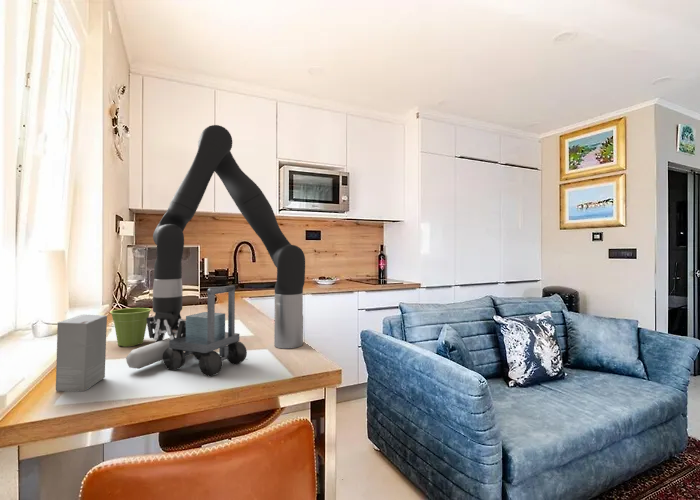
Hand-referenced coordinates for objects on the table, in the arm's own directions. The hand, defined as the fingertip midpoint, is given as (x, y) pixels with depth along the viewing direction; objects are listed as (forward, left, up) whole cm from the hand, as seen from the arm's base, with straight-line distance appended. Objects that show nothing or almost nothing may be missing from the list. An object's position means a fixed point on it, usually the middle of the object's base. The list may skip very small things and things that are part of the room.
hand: (167, 354), depth 103 cm
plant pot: (-9, -25, -2) cm, 27 cm away
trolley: (0, +14, -2) cm, 14 cm away
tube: (0, 0, -1) cm, 1 cm away
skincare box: (+21, -3, -2) cm, 21 cm away
